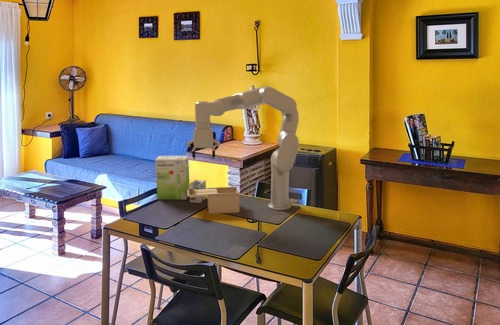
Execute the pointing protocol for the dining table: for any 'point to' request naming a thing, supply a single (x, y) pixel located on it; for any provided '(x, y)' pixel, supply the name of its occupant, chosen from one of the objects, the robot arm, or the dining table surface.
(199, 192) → the lid
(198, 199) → the light bulb box
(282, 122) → the robot arm
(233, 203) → the carton
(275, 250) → the dining table surface
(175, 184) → the green product box
